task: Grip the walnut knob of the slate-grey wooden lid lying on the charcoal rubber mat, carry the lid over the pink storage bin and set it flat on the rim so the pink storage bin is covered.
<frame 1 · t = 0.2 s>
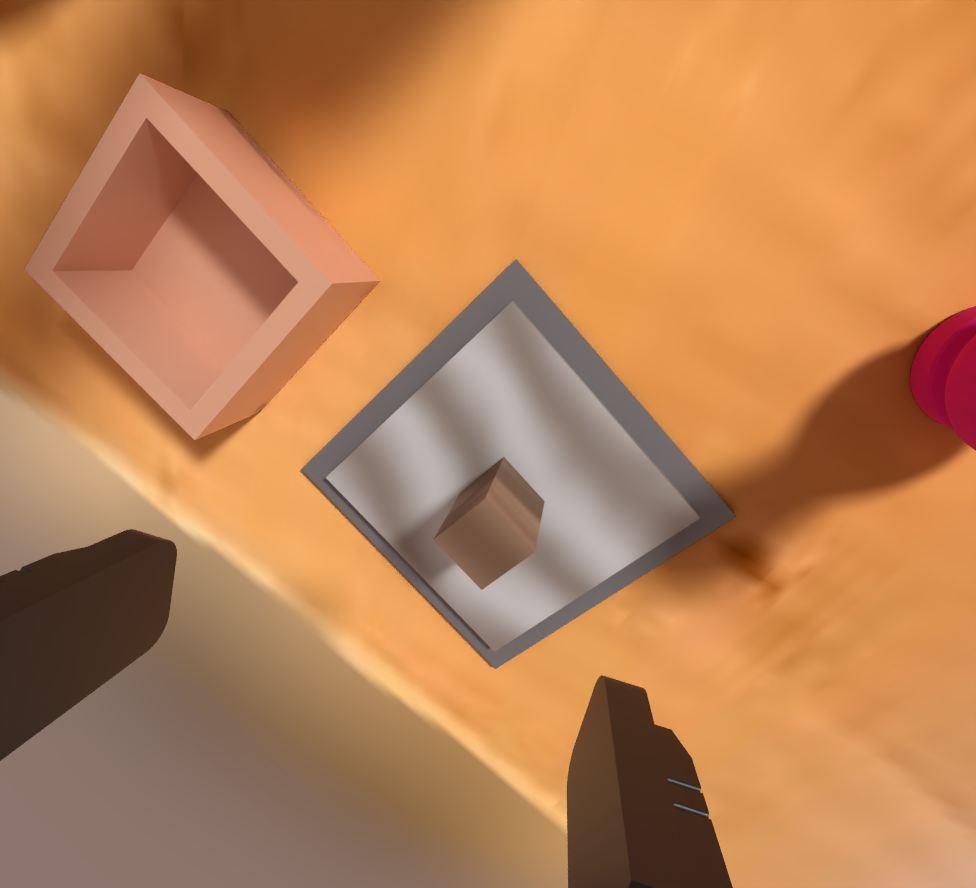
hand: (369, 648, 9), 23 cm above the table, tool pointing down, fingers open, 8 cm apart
mat: (505, 488, 33), on the table
lid: (504, 491, 32), resting on mat
pink storage bin: (244, 274, 31), on the table
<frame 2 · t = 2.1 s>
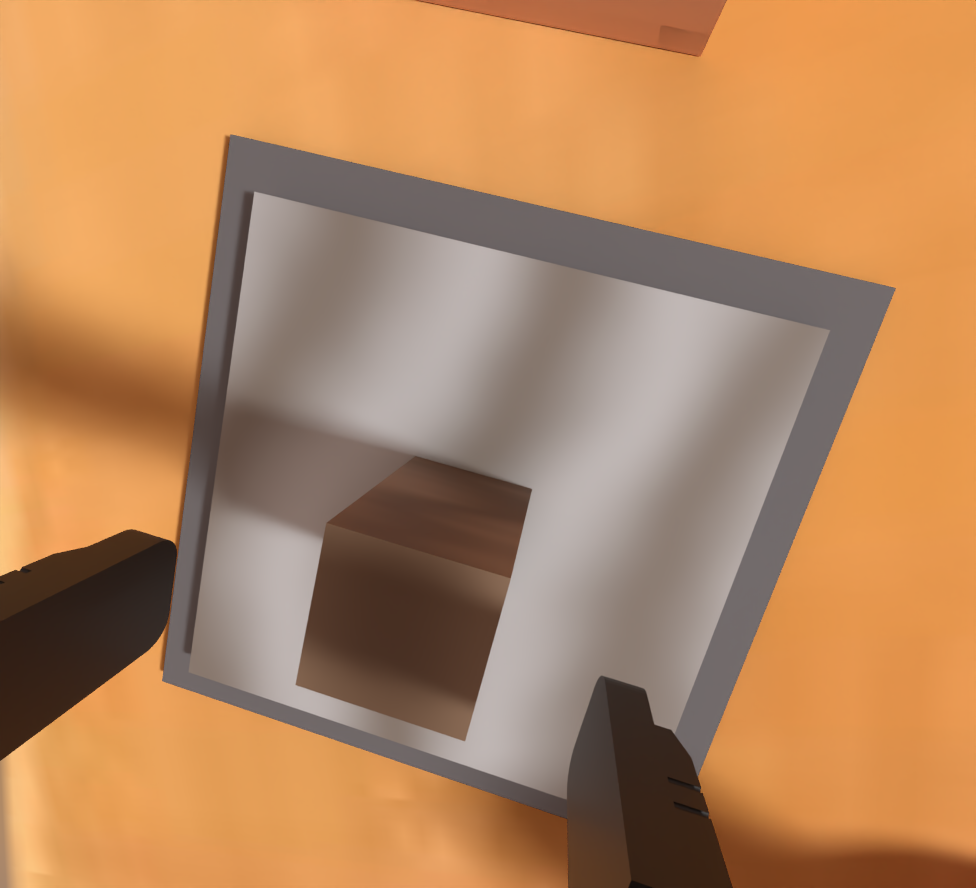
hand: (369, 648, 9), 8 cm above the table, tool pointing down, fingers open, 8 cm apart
mat: (466, 515, 17), on the table
lid: (464, 519, 17), resting on mat
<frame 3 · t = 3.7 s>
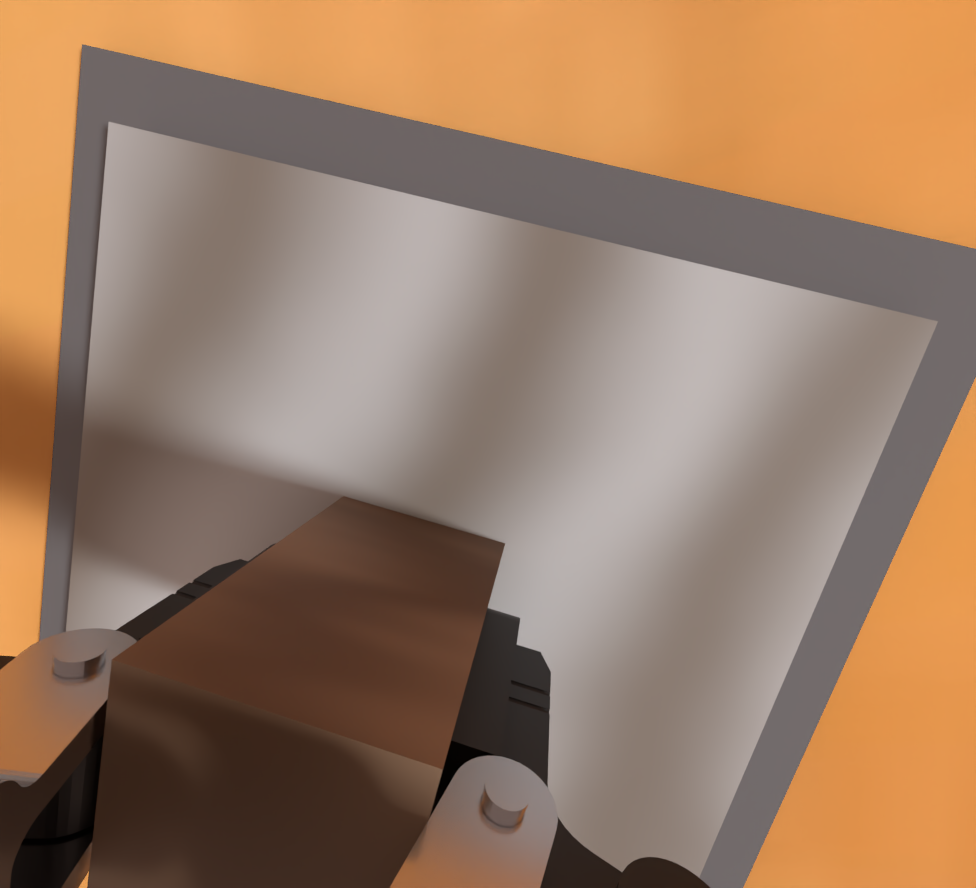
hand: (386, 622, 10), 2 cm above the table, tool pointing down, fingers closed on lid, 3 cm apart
mat: (419, 571, 13), on the table
lid: (415, 578, 12), resting on mat, touching gripper
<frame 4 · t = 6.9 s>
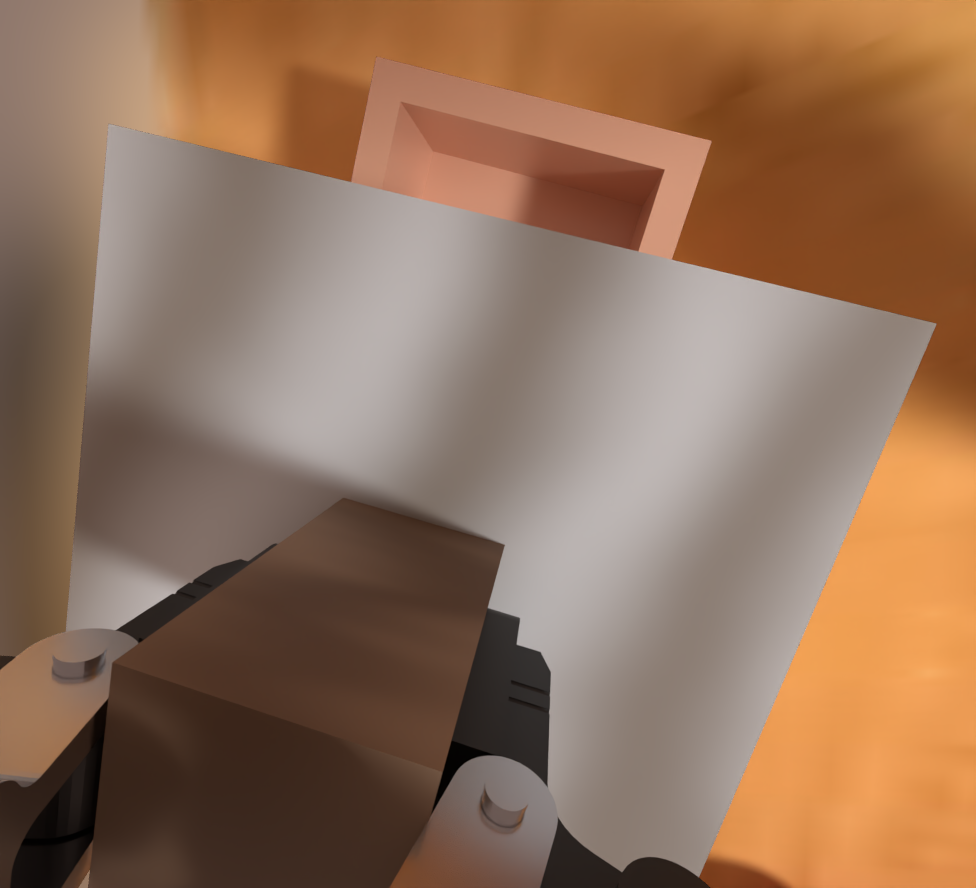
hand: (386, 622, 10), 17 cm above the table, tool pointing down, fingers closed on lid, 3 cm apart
lid: (414, 580, 12), point 15 cm above the table, touching gripper
pink storage bin: (508, 289, 25), on the table
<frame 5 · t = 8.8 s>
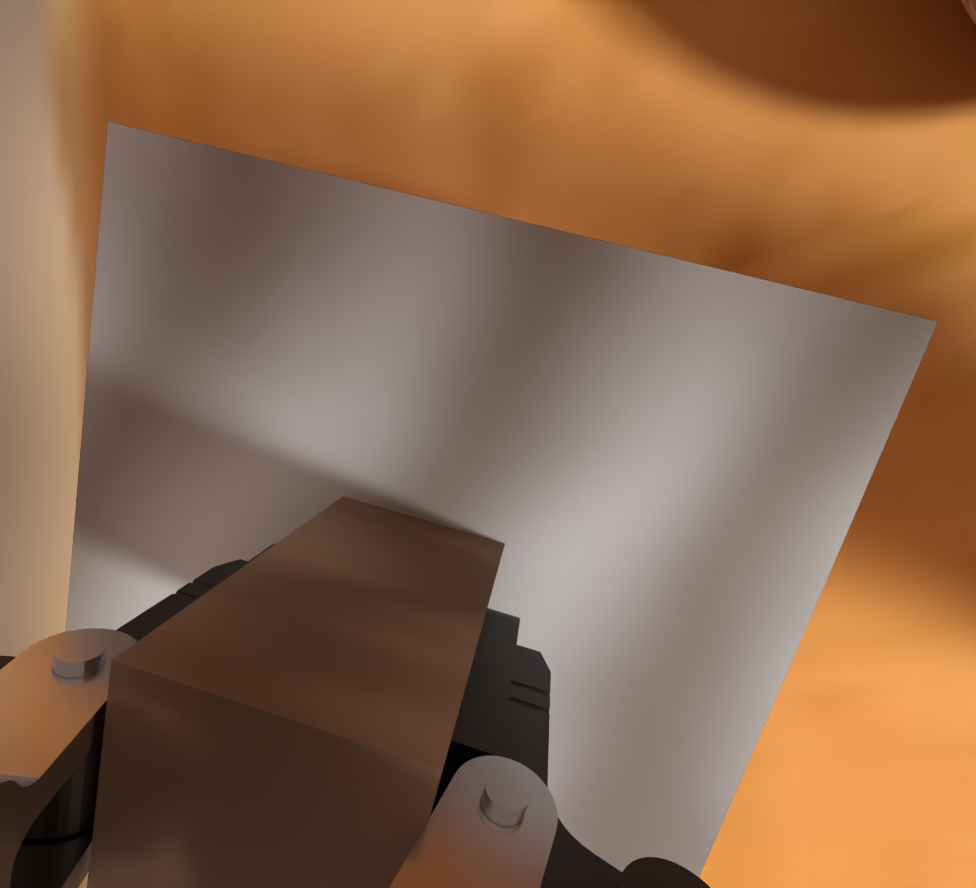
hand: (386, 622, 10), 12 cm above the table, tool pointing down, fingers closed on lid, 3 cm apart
lid: (414, 578, 12), point 10 cm above the table, touching gripper
when the fingers open (9 cm above the table, at t = 10.1 s): lid drops 1 cm, resting on pink storage bin.
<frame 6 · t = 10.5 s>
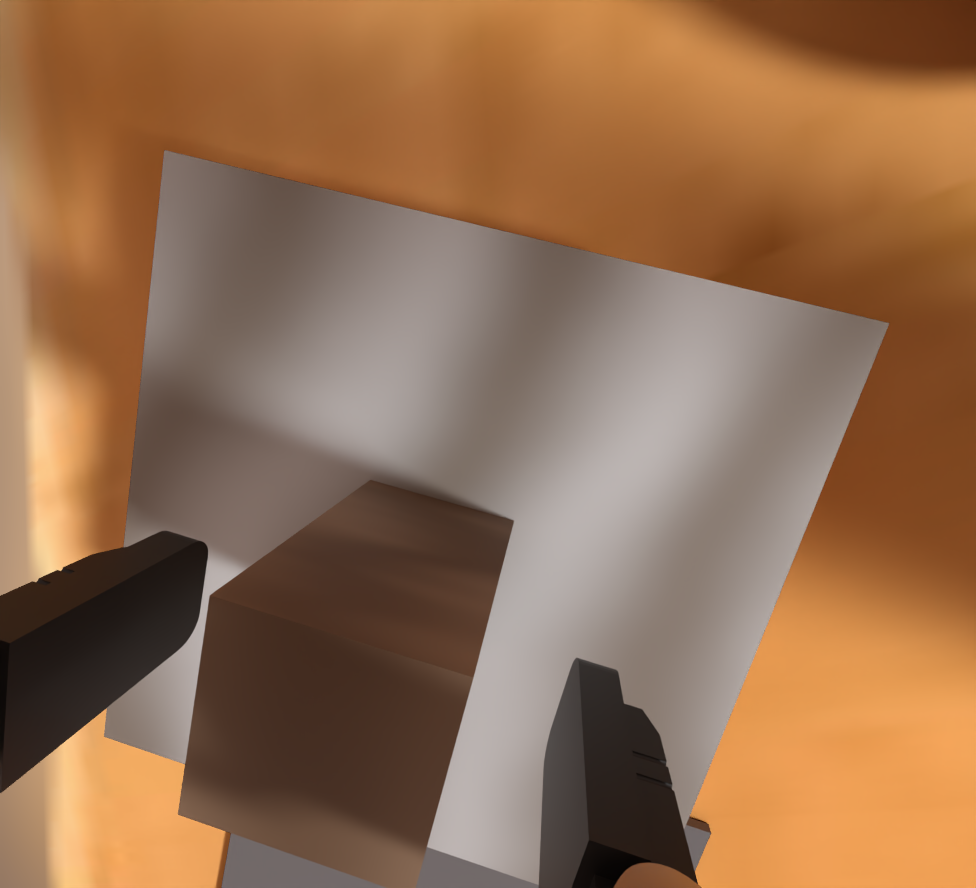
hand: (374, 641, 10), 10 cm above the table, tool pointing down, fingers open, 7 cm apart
lid: (432, 554, 14), point 6 cm above the table, touching pink storage bin
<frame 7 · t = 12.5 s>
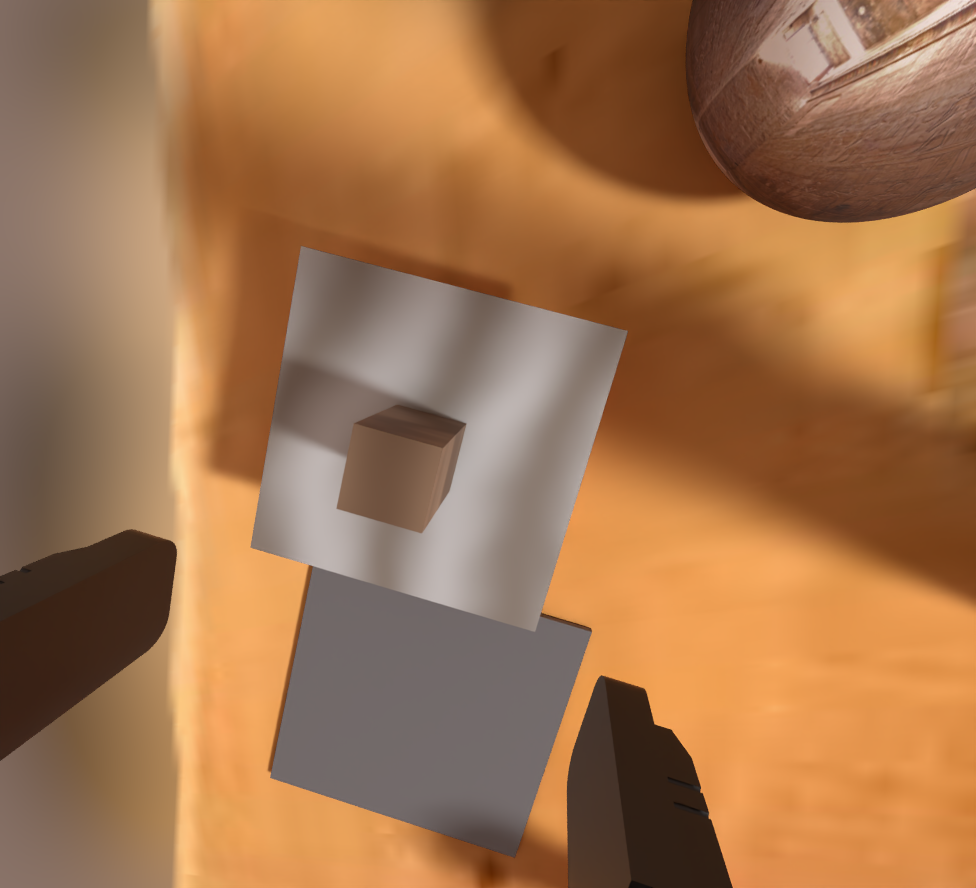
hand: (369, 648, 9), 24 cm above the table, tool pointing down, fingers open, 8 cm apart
mat: (421, 706, 37), on the table
lid: (427, 445, 27), point 6 cm above the table, touching pink storage bin
wooden sphere: (800, 99, 28), on the table
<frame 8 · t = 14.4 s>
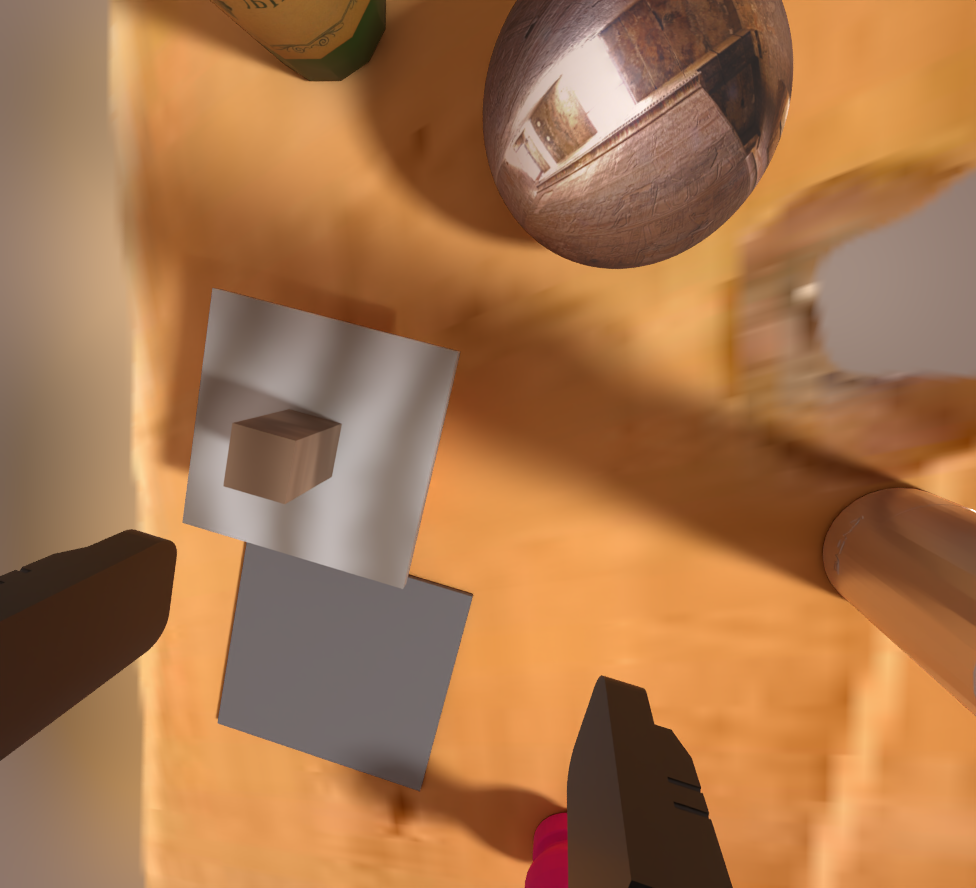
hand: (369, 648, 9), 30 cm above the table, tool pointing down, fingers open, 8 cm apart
mat: (338, 661, 45), on the table
lid: (316, 440, 35), point 6 cm above the table, touching pink storage bin
wooden sphere: (612, 165, 35), on the table
bottle: (329, 17, 36), on the table
pepper mill: (570, 840, 45), on the table
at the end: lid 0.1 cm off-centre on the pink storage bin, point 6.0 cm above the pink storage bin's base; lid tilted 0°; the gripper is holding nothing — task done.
